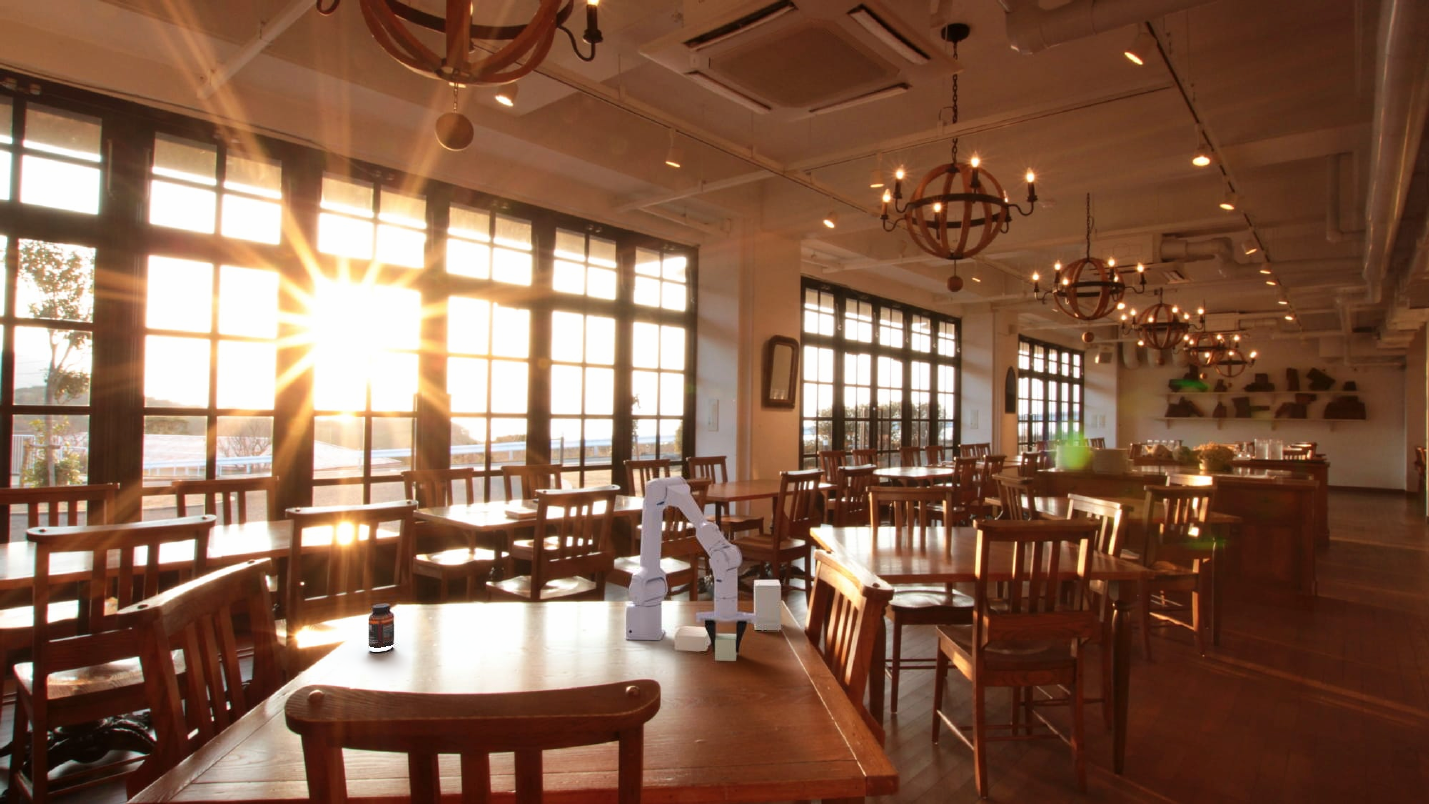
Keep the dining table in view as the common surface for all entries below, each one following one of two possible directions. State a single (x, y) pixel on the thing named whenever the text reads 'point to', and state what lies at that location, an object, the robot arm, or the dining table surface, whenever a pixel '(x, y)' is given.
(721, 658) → the sage block
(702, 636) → the cream block
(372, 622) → the supplement bottle
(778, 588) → the supplement box
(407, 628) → the dining table surface
